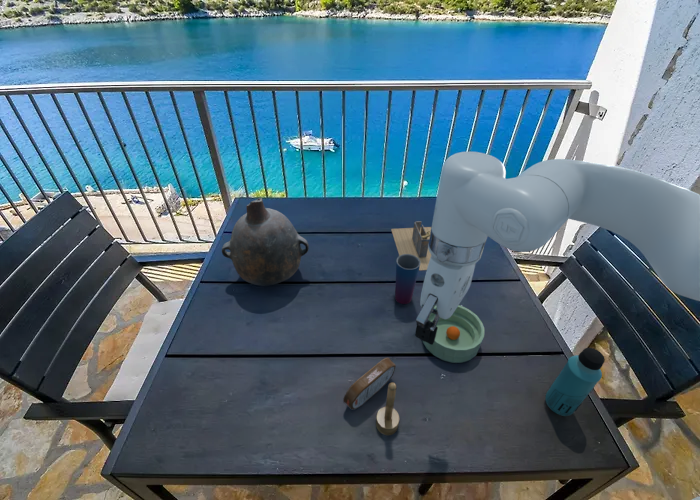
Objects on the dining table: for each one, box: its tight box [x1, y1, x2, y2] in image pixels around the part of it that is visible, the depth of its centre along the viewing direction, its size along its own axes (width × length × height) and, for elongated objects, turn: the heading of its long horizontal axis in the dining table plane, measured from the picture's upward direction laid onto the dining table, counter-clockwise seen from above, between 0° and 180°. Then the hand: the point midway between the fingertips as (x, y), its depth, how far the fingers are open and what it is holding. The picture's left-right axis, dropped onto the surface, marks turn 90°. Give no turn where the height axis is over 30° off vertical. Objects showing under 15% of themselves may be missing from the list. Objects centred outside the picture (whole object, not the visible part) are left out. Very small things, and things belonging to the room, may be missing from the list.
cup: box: [394, 254, 420, 305], centre depth 104 cm, size 7×7×15 cm
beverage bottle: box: [545, 347, 606, 417], centre depth 75 cm, size 6×7×20 cm
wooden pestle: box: [375, 382, 400, 436], centre depth 73 cm, size 5×5×16 cm
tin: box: [343, 357, 397, 411], centre depth 81 cm, size 15×3×8 cm, turn 131°
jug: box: [221, 197, 310, 286], centre depth 107 cm, size 24×21×30 cm
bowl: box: [422, 304, 485, 364], centre depth 94 cm, size 16×16×6 cm
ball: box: [446, 326, 460, 340], centre depth 95 cm, size 4×4×4 cm
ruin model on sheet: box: [390, 220, 432, 271], centre depth 125 cm, size 25×16×10 cm, turn 5°
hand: (437, 320), depth 60 cm, fingers open, 9 cm apart
